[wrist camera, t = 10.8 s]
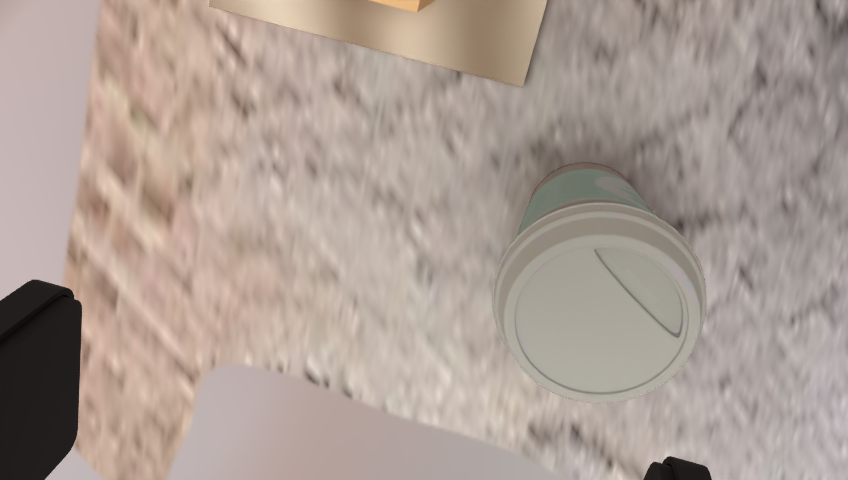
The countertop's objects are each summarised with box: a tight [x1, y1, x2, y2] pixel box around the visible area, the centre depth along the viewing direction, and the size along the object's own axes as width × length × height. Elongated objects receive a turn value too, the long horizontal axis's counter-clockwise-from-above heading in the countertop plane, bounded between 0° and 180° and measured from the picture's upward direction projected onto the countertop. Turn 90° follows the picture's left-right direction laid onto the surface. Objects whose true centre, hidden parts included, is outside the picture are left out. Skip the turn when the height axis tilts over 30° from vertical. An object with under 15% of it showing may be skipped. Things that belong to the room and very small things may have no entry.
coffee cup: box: [492, 163, 706, 403], centre depth 34 cm, size 8×8×12 cm
